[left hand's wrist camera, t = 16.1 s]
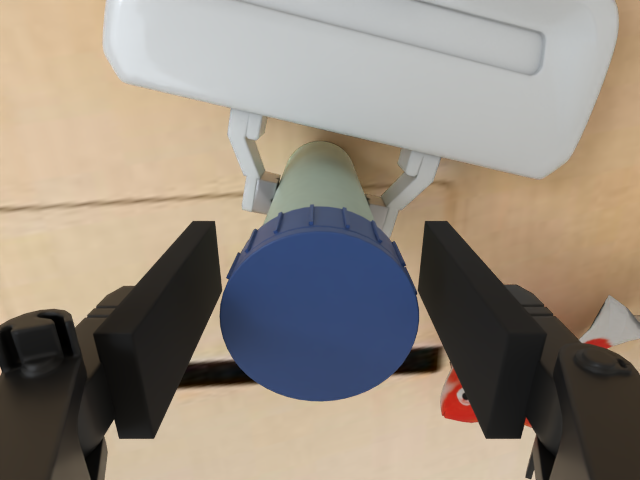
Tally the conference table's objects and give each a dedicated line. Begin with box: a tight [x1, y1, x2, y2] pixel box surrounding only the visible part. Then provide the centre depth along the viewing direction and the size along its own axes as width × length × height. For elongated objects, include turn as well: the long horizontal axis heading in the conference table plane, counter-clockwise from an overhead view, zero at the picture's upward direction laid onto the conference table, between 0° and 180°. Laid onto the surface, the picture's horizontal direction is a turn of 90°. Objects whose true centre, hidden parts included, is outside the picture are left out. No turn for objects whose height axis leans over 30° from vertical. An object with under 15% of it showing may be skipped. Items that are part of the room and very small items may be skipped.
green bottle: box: [263, 141, 374, 225], centre depth 18 cm, size 4×4×16 cm
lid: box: [220, 204, 419, 401], centre depth 11 cm, size 5×5×2 cm
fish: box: [440, 295, 640, 428], centre depth 26 cm, size 11×16×10 cm
